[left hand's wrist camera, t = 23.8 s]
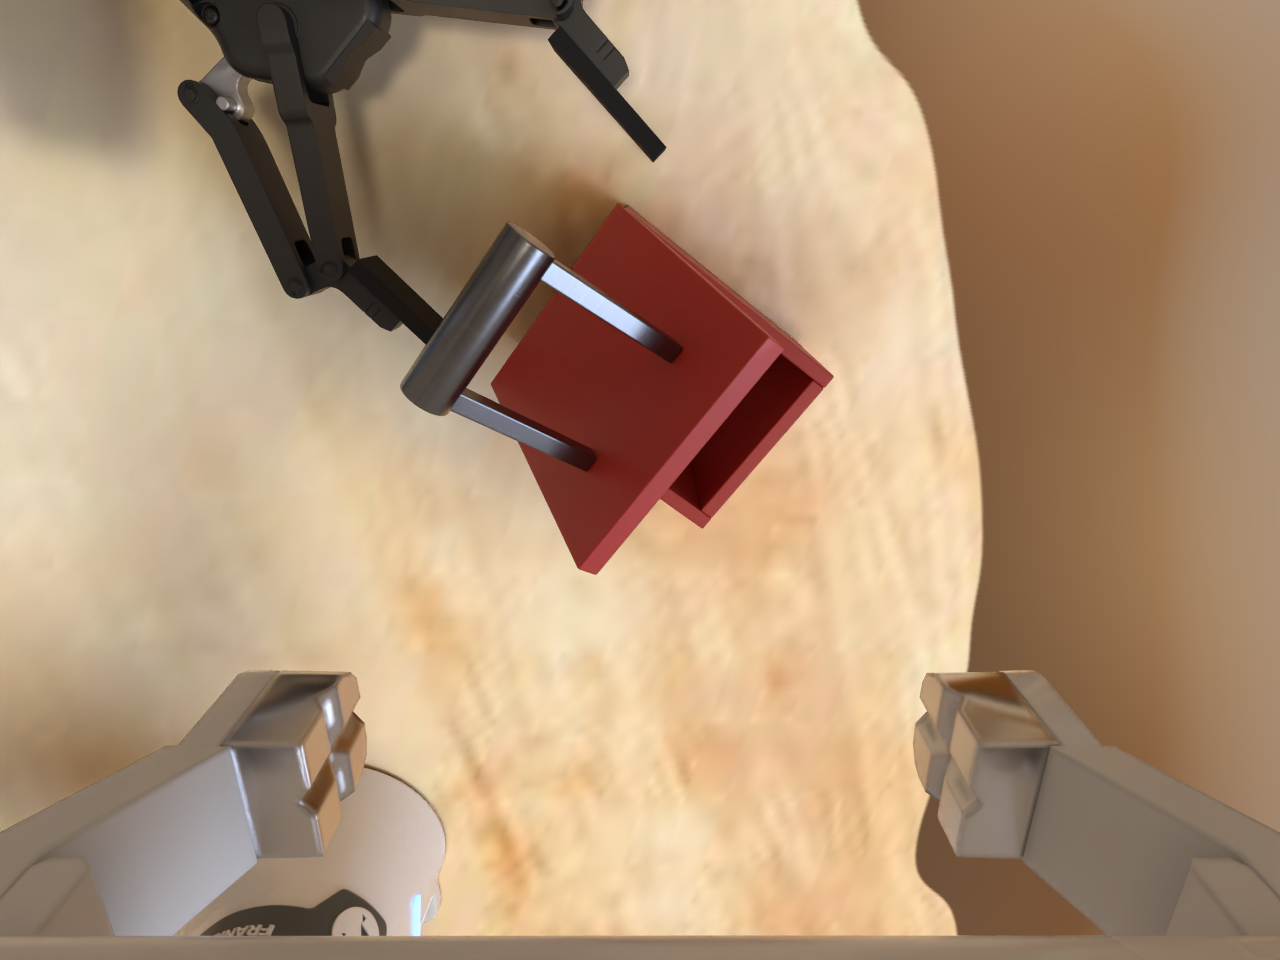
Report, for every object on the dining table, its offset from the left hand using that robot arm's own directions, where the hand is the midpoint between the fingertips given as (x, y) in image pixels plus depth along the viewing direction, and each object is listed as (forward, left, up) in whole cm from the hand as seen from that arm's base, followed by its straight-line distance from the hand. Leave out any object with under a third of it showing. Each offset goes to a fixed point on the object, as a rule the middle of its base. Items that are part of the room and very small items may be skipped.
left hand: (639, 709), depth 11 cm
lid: (-1, +1, -20) cm, 20 cm away
